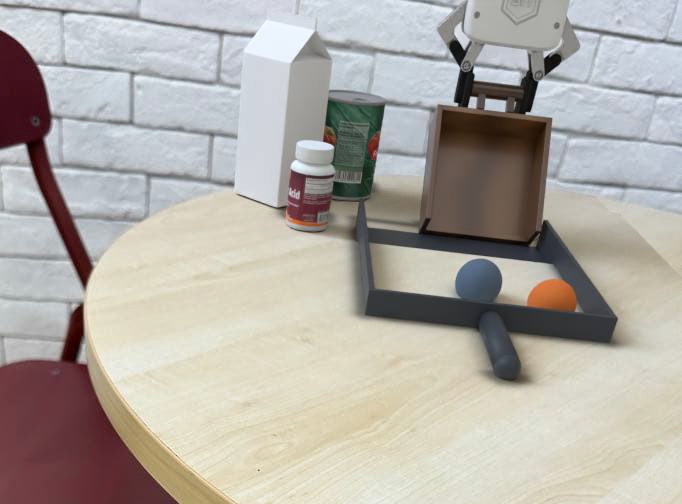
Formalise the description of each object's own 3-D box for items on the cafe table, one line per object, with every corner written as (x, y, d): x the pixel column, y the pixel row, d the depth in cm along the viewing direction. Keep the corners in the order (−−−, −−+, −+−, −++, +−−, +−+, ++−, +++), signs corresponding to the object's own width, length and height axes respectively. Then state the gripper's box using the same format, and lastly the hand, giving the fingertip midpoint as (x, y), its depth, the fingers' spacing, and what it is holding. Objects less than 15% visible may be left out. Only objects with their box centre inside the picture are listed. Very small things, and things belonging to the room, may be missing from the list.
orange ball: (587, 300, 72) (570, 340, 75) (579, 272, 74) (563, 312, 78) (538, 294, 72) (523, 335, 75) (532, 266, 74) (518, 307, 78)
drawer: (541, 111, 96) (557, 87, 91) (528, 247, 96) (542, 229, 91) (432, 98, 96) (441, 73, 91) (417, 234, 96) (426, 216, 91)
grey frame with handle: (354, 228, 95) (359, 197, 93) (539, 249, 96) (547, 220, 94) (366, 378, 64) (374, 338, 62) (639, 409, 65) (655, 370, 63)
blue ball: (505, 252, 77) (510, 275, 74) (492, 294, 80) (497, 317, 77) (459, 247, 77) (463, 270, 74) (448, 289, 80) (452, 312, 77)
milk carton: (276, 209, 98) (294, 18, 87) (233, 193, 102) (245, 8, 90) (316, 201, 103) (338, 18, 91) (273, 186, 106) (289, 8, 95)
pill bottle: (280, 218, 95) (288, 138, 90) (320, 219, 97) (330, 140, 92) (290, 232, 92) (299, 149, 87) (332, 233, 93) (343, 151, 88)
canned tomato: (297, 184, 108) (308, 88, 101) (348, 182, 111) (362, 89, 105) (331, 202, 103) (344, 102, 96) (383, 199, 106) (399, 102, 100)
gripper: (454, -98, 80) (415, 111, 91) (633, -74, 81) (573, 132, 91) (446, -97, 86) (411, 99, 97) (613, -75, 87) (559, 118, 97)
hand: (490, 113), depth 94 cm, fingers closed on drawer, 5 cm apart
